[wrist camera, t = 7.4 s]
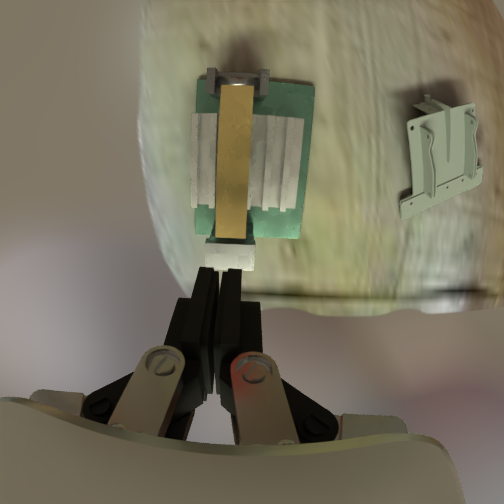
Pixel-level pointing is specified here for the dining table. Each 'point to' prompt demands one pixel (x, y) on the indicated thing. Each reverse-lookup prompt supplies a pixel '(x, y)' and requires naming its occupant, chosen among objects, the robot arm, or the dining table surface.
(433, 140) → the metal bracket
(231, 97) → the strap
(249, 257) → the heatsink
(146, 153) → the dining table surface
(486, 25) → the dining table surface
